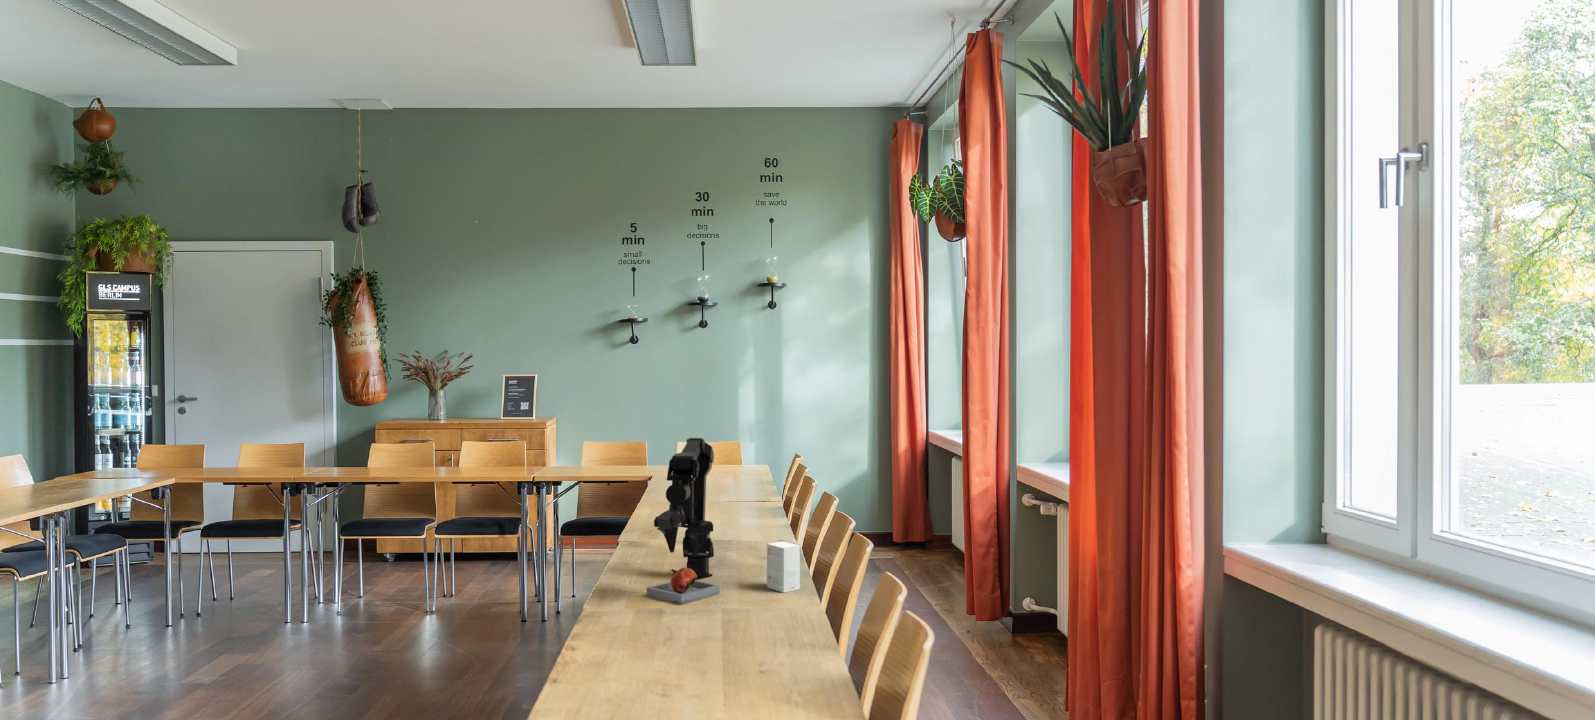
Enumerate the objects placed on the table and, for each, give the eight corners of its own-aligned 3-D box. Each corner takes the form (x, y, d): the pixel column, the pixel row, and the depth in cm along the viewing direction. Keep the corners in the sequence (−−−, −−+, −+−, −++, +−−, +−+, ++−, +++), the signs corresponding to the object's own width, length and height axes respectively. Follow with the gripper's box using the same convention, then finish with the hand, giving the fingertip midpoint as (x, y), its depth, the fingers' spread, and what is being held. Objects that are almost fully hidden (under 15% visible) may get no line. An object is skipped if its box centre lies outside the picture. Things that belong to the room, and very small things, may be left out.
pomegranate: (698, 597, 270) (675, 573, 273) (710, 580, 267) (686, 556, 270) (682, 606, 263) (659, 581, 267) (694, 588, 260) (670, 563, 264)
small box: (800, 589, 274) (800, 545, 274) (783, 593, 270) (783, 547, 270) (783, 584, 280) (783, 540, 280) (766, 587, 276) (766, 543, 276)
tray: (684, 586, 277) (684, 577, 277) (719, 593, 269) (719, 585, 269) (646, 596, 266) (646, 587, 266) (681, 604, 257) (681, 595, 257)
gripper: (639, 499, 267) (639, 554, 267) (686, 506, 255) (685, 563, 255) (668, 495, 275) (668, 548, 275) (714, 501, 263) (714, 557, 263)
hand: (683, 554), depth 267 cm, fingers open, 9 cm apart
